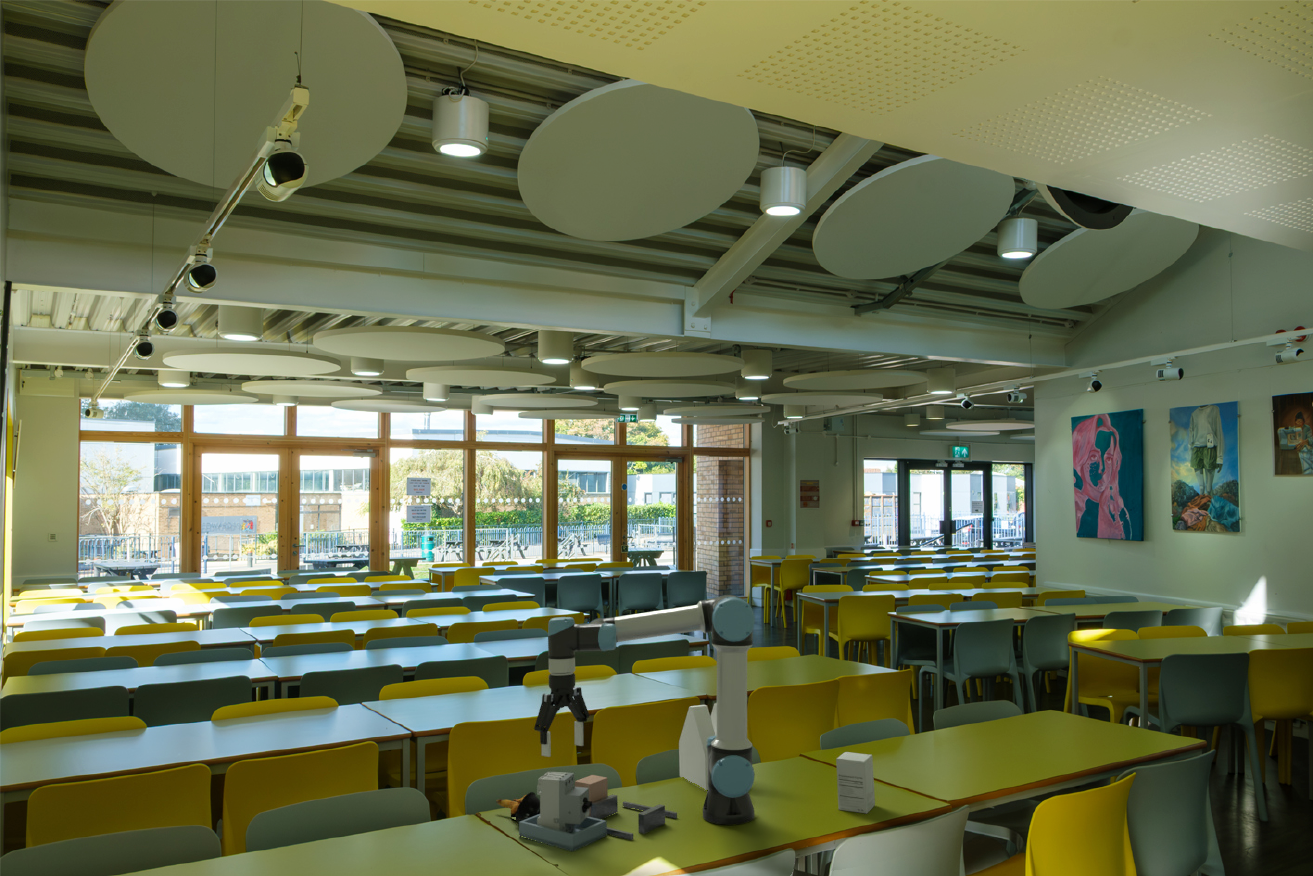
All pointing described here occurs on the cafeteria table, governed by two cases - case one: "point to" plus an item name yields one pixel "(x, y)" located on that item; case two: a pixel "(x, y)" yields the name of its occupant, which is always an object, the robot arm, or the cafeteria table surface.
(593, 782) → the beige rectangular block
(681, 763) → the milk carton
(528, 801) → the fried shrimp in bowl
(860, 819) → the cafeteria table surface
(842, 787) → the supplement box
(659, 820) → the grey blocks
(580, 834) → the tray
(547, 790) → the circuit breaker
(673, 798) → the cafeteria table surface
